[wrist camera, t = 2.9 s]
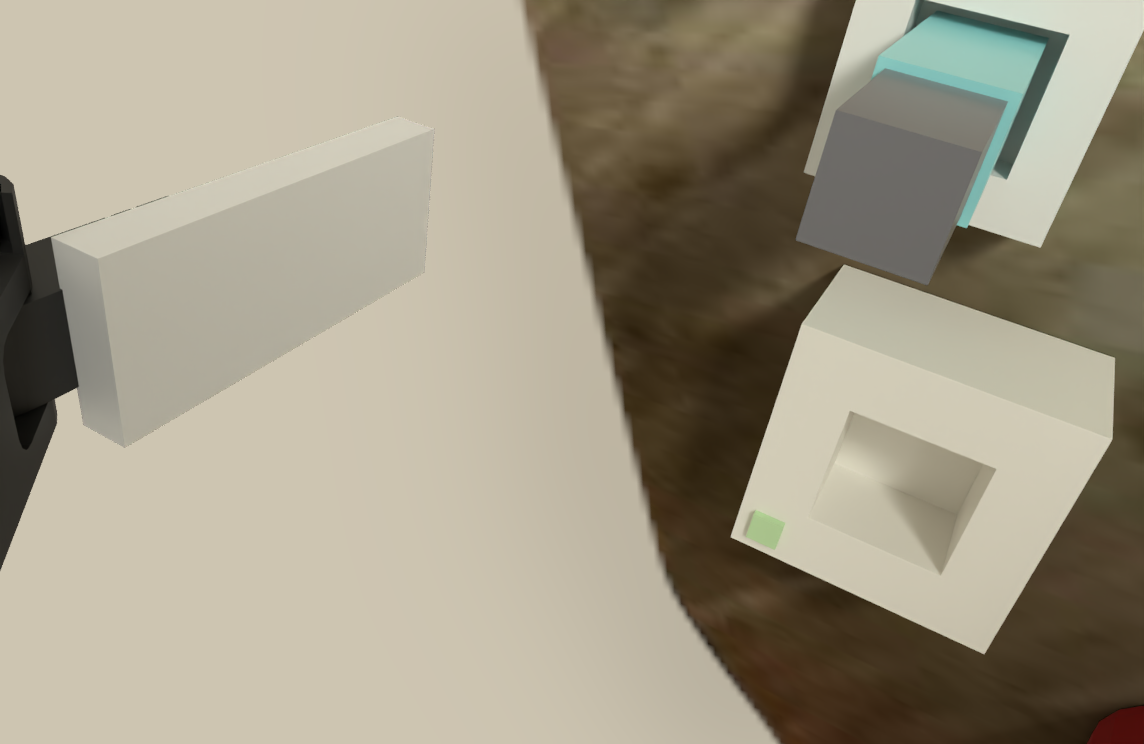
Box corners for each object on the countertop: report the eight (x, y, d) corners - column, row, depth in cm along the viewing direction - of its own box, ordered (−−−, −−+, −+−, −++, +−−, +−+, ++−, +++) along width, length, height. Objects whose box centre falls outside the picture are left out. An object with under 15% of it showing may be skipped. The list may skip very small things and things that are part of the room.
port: (844, 264, 36) (799, 327, 31) (1114, 357, 33) (1112, 444, 28) (775, 461, 42) (727, 541, 37) (1001, 558, 38) (983, 659, 34)
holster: (898, -82, 30) (879, -77, 28) (1161, -25, 28) (1164, -15, 25) (825, 151, 35) (803, 172, 32) (1046, 219, 32) (1040, 247, 30)
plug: (937, 10, 30) (827, 94, 19) (1049, 38, 29) (1000, 143, 18) (900, 115, 32) (781, 246, 21) (1003, 145, 31) (935, 299, 20)
